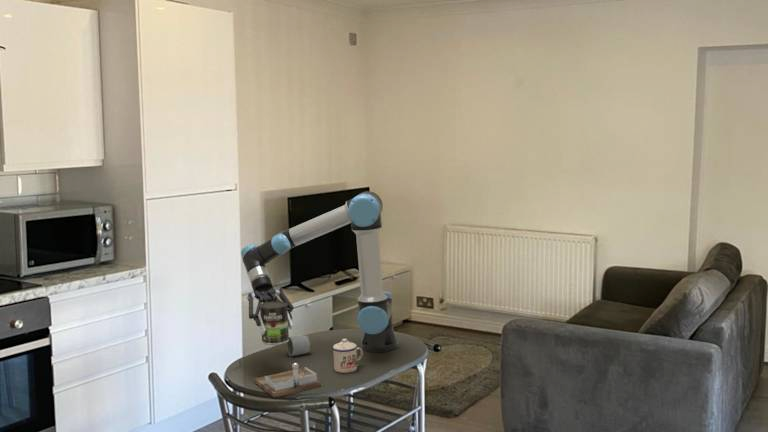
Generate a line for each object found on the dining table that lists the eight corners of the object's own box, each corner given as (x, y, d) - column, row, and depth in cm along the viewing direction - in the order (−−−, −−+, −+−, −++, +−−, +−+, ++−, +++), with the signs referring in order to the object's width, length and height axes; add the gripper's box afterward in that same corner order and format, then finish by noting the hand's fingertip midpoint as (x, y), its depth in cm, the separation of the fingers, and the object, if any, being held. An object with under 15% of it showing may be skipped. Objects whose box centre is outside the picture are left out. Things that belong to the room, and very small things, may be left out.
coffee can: (288, 344, 283) (286, 307, 281) (260, 345, 283) (257, 308, 281) (290, 336, 294) (288, 300, 291) (263, 337, 293) (261, 301, 291)
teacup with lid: (341, 375, 283) (339, 344, 281) (329, 368, 290) (328, 338, 289) (369, 368, 289) (367, 338, 287) (357, 362, 297) (355, 332, 295)
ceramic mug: (312, 354, 308) (311, 336, 307) (293, 358, 304) (292, 339, 303) (303, 348, 317) (301, 330, 316) (284, 352, 313) (283, 333, 313)
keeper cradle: (265, 384, 272) (263, 360, 270) (306, 375, 280) (305, 352, 278) (276, 392, 263) (275, 368, 262) (318, 383, 271) (317, 359, 270)
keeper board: (254, 382, 278) (254, 378, 278) (300, 372, 287) (300, 368, 287) (273, 397, 263) (273, 393, 263) (321, 386, 272) (321, 382, 272)
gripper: (285, 282, 304) (303, 329, 293) (230, 290, 293) (246, 340, 282) (289, 271, 299) (308, 319, 288) (233, 279, 288) (250, 330, 277)
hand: (277, 330), depth 285 cm, fingers closed on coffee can, 10 cm apart
